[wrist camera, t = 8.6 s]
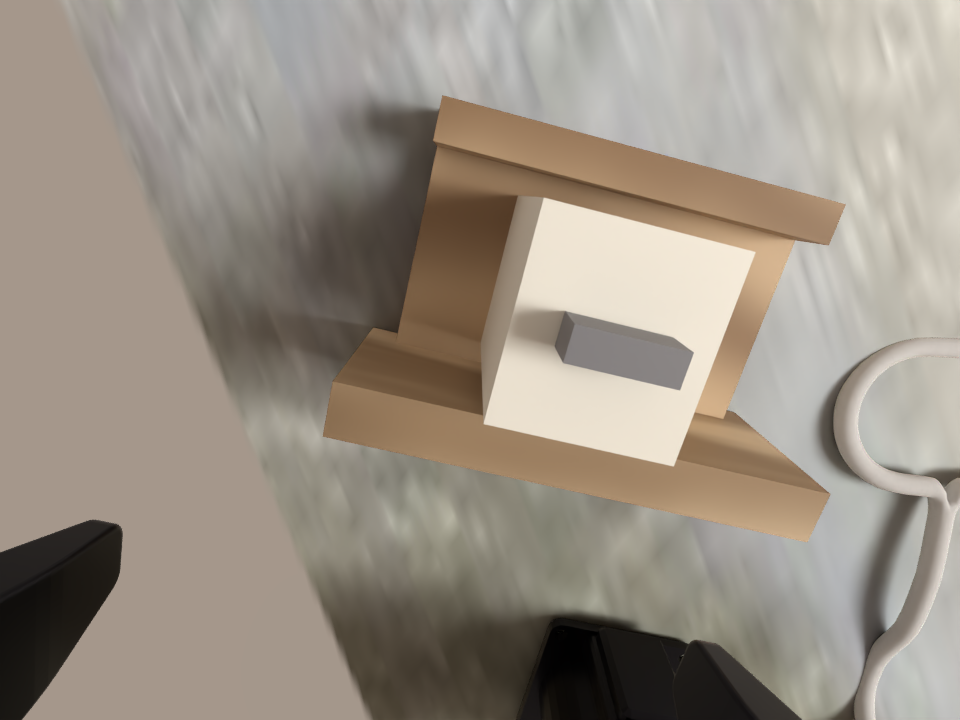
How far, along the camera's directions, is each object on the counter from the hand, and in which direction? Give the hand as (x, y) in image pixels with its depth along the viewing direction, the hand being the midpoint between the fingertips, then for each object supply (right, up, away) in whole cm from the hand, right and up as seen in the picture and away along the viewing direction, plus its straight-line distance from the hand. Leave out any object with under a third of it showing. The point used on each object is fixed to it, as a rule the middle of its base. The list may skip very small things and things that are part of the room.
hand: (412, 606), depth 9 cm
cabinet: (+4, +6, +10) cm, 12 cm away
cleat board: (+5, +6, +11) cm, 14 cm away
